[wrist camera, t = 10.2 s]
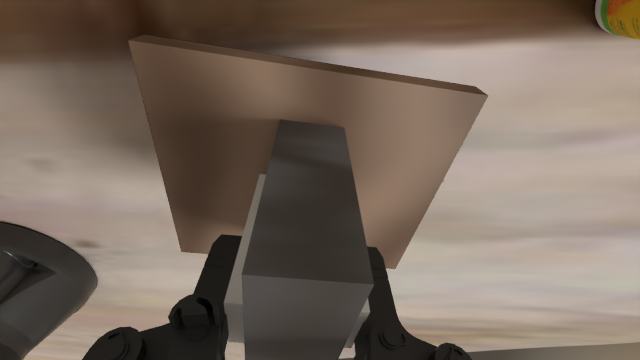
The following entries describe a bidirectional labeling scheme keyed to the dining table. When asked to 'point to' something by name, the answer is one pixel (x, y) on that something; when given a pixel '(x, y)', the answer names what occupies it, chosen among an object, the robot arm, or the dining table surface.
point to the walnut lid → (298, 175)
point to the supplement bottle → (619, 17)
